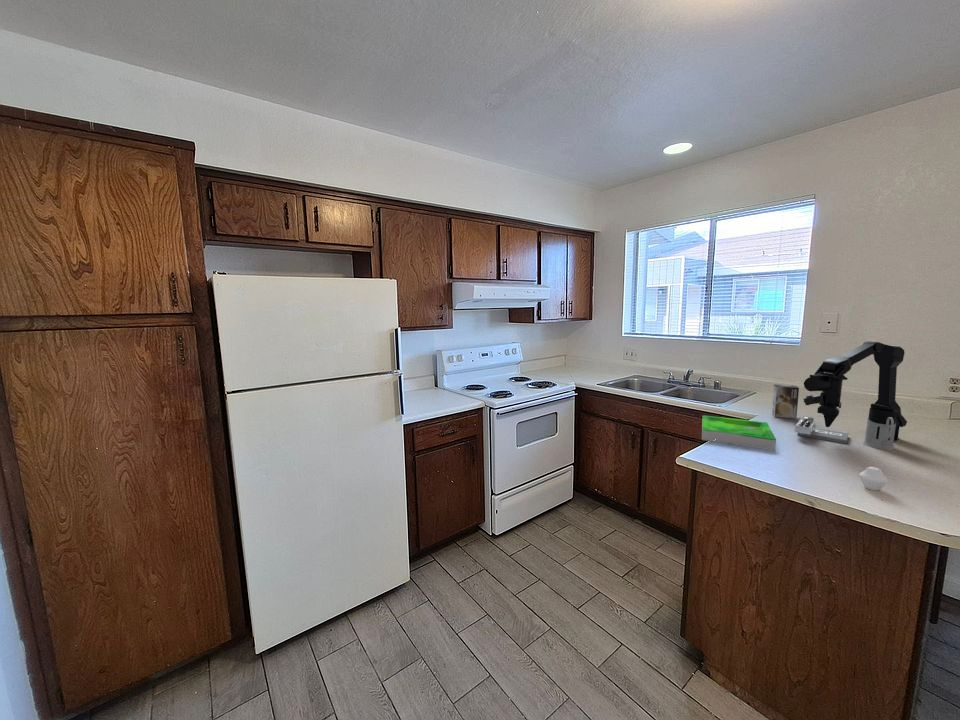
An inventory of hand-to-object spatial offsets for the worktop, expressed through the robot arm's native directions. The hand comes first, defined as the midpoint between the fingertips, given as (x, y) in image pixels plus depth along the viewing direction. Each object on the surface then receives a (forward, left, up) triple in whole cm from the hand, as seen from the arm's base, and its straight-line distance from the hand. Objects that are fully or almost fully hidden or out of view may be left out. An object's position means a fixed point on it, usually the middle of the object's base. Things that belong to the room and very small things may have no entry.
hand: (827, 426), depth 156 cm
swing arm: (+7, -2, -4) cm, 8 cm away
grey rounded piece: (-16, -5, -6) cm, 18 cm away
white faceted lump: (-14, +46, -6) cm, 48 cm away
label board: (+2, -7, -6) cm, 10 cm away
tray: (+28, +19, -7) cm, 35 cm away
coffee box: (+18, -33, -6) cm, 39 cm away
